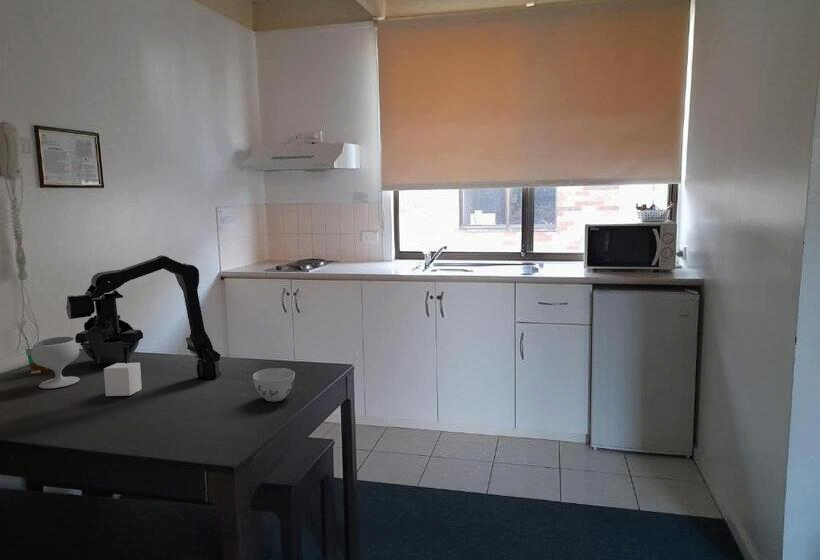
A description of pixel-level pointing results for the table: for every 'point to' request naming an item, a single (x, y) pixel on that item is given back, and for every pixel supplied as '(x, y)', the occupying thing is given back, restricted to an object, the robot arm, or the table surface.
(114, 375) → the white foam cube
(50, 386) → the chalice
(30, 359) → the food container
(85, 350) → the bowl of black rocks
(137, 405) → the table surface
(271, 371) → the teacup
